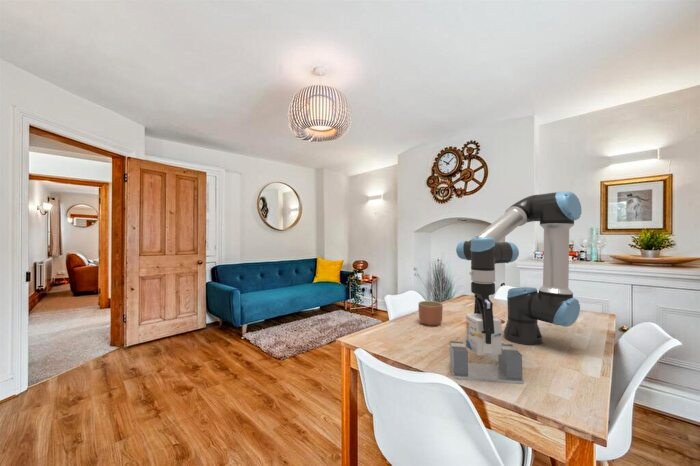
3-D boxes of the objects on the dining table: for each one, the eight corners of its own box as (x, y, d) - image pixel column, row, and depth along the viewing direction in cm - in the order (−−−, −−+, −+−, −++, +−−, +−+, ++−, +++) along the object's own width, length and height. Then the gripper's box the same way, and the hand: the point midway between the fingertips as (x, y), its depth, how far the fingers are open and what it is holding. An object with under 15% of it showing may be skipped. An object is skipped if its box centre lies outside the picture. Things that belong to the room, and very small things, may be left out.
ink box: (465, 345, 104) (465, 313, 105) (488, 344, 105) (487, 312, 105) (477, 355, 96) (477, 320, 96) (502, 354, 97) (502, 319, 97)
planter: (445, 327, 149) (445, 306, 149) (421, 327, 149) (421, 306, 149) (438, 320, 161) (438, 300, 161) (416, 320, 161) (416, 300, 161)
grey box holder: (511, 368, 104) (511, 342, 104) (523, 383, 93) (523, 355, 93) (449, 363, 108) (449, 338, 108) (454, 378, 97) (454, 350, 97)
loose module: (502, 357, 113) (502, 340, 113) (515, 365, 107) (515, 347, 107) (491, 358, 113) (490, 341, 113) (503, 366, 106) (503, 348, 106)
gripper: (464, 276, 112) (465, 335, 112) (479, 287, 90) (479, 359, 90) (485, 277, 111) (486, 336, 111) (505, 288, 89) (506, 361, 89)
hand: (483, 346), depth 101 cm, fingers closed on ink box, 10 cm apart
